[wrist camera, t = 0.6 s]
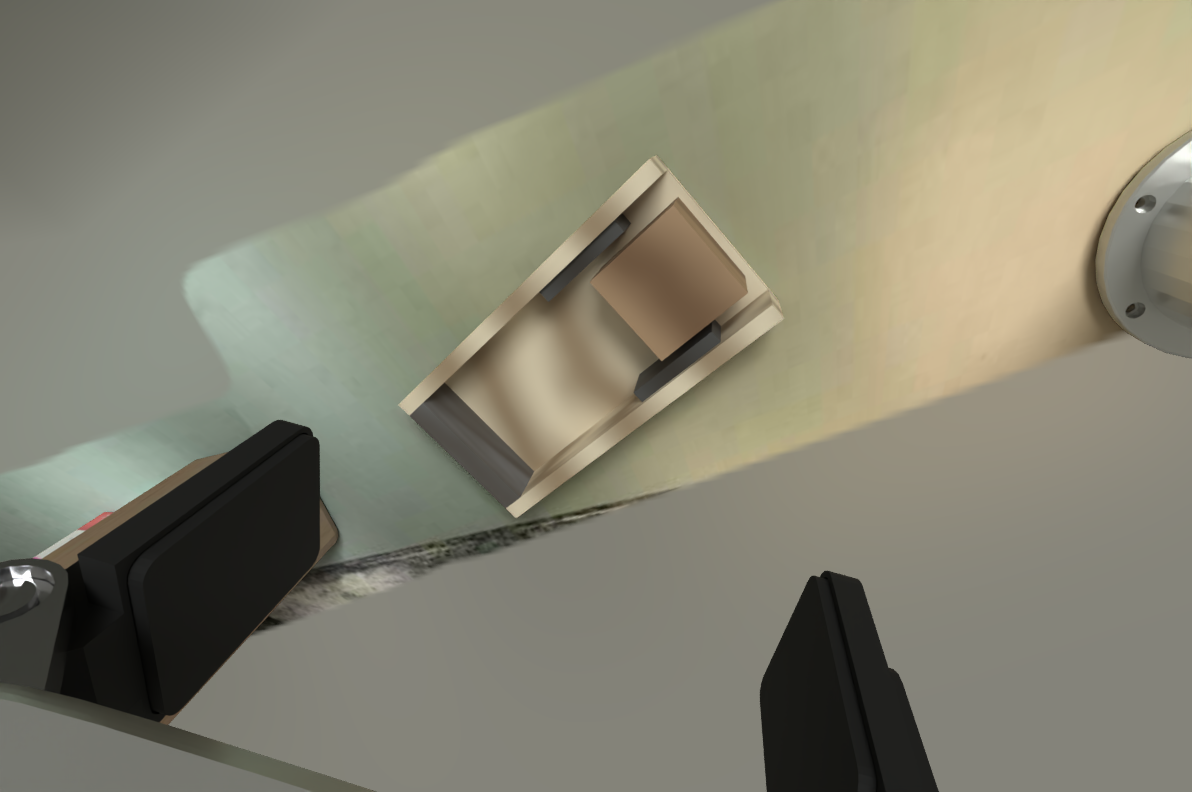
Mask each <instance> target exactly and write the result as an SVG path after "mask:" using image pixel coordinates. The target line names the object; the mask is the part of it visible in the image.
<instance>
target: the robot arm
mask: <svg viewBox="0 0 1192 792" xmlns="http://www.w3.org/2000/svg"><path fill="white" fill-rule="evenodd" d="M1137 200H1140V201H1139V204H1138V205H1137V206H1135V204H1136V202H1137ZM1095 264H1096V283H1097V287H1098V290H1099V293H1100V297H1101V300H1102V303H1103V304H1104V306H1105V308H1106V309H1107V311H1108V312H1109V314H1110V316H1111V317H1112V319H1113V320H1114V321H1115V322H1116V323H1117V324H1118V325H1119V326H1120V327H1121V328H1122V329H1124V330H1125V331H1126V332H1127V333H1128V334H1130V335H1131V336H1133V337H1135V338H1136V339H1138V340H1140V341H1142V342H1143V343H1145V344H1147V345H1149V346H1152V347H1154V348H1156V349H1158V350H1161V351H1163V352H1165V353H1169V354H1173V355H1178V356H1182V357H1187V358H1192V130H1191V131H1189V132H1188V133H1186V134H1185V135H1183V136H1182V137H1180V138H1179V139H1177V140H1176V141H1174V142H1173V143H1171V144H1170V145H1168V146H1167V147H1166V148H1164V149H1163V150H1162V151H1161V152H1160V153H1159V154H1158V155H1157V156H1155V157H1154V158H1153V159H1152V160H1151V161H1150V162H1149V163H1148V164H1147V165H1145V166H1144V167H1143V168H1142V169H1141V170H1140V172H1139V173H1138V174H1137V175H1136V176H1135V178H1134V179H1133V180H1132V181H1131V182H1130V183H1129V185H1128V186H1127V187H1126V188H1125V189H1124V191H1123V192H1122V194H1121V195H1120V197H1119V199H1118V200H1117V202H1116V204H1115V205H1114V207H1113V209H1112V210H1111V212H1110V214H1109V215H1108V218H1107V220H1106V223H1105V226H1104V228H1103V231H1102V233H1101V236H1100V238H1099V244H1098V249H1097V255H1096V261H1095ZM1128 306H1129V308H1127V307H1128ZM319 551H320V445H319V441H318V439H317V438H316V437H313V433H312V431H311V429H310V428H308V427H305V426H302V425H298V424H294V423H291V422H287V421H283V420H276V421H274V422H272V423H271V424H269V425H268V426H266V427H265V428H263V429H262V430H260V431H259V432H258V433H256V434H255V435H253V436H252V437H250V438H249V439H247V440H246V441H244V442H243V443H241V444H240V445H238V446H237V447H235V448H234V449H232V450H231V451H229V452H228V453H226V454H225V455H223V456H222V457H220V458H219V459H218V460H216V461H215V462H213V463H212V464H210V465H209V466H207V467H206V468H204V469H203V470H201V471H200V472H198V473H197V474H195V475H194V476H192V477H191V478H189V479H188V480H186V481H185V482H183V483H182V484H180V485H179V486H177V487H176V488H175V489H173V490H172V491H170V492H169V493H167V494H166V495H164V496H163V497H161V498H160V499H158V500H157V501H155V502H154V503H152V504H151V505H149V506H148V507H146V508H145V509H143V510H142V511H140V512H139V513H137V514H136V515H134V516H133V517H132V518H130V519H129V520H127V521H126V522H124V523H123V524H121V525H120V526H118V527H117V528H115V529H114V530H112V531H111V532H109V533H108V534H106V535H105V536H103V537H102V538H100V539H99V540H97V541H96V542H94V543H93V544H92V545H90V546H89V547H87V548H86V549H84V550H83V551H81V552H80V553H78V554H77V556H78V561H77V562H75V563H74V564H72V565H71V566H69V567H68V568H66V569H64V568H63V567H62V566H61V565H59V564H57V563H55V562H52V561H50V560H44V559H35V558H27V559H15V560H8V561H4V562H0V792H376V791H373V790H370V789H367V788H364V787H361V786H357V785H354V784H351V783H348V782H345V781H342V780H339V779H336V778H333V777H330V776H327V775H323V774H320V773H317V772H314V771H311V770H308V769H305V768H301V767H298V766H295V765H292V764H289V763H286V762H282V761H279V760H276V759H273V758H270V757H267V756H264V755H261V754H257V753H254V752H251V751H248V750H245V749H241V748H238V747H235V746H232V745H229V744H225V743H223V742H220V741H216V740H213V739H210V738H207V737H204V736H200V735H197V734H194V733H191V732H188V731H185V730H182V729H179V728H175V727H172V726H169V725H166V724H162V723H159V722H160V721H161V720H162V719H163V718H164V717H165V716H166V715H168V716H172V715H174V714H176V713H178V712H179V711H180V710H181V709H182V708H183V707H184V706H185V705H186V704H187V703H188V702H189V701H190V700H191V698H192V697H193V696H194V695H195V694H196V693H197V692H198V691H199V690H200V689H201V688H202V686H203V685H204V684H205V683H206V682H207V681H208V680H209V679H210V678H211V677H212V675H213V674H214V673H215V672H216V671H217V670H218V669H219V668H220V667H221V666H222V664H223V663H224V662H225V661H226V660H227V659H228V658H229V657H230V656H231V655H232V654H233V652H234V651H235V650H236V649H237V648H238V647H239V646H240V645H241V644H242V643H243V641H244V640H245V639H246V638H247V637H248V636H249V635H250V634H251V633H252V632H253V630H254V629H255V628H256V627H257V626H258V625H259V624H260V623H261V622H262V621H263V620H264V618H265V617H266V616H267V615H268V614H269V613H270V612H271V611H272V610H273V609H274V607H275V606H276V605H277V604H278V603H279V602H280V601H281V600H282V599H283V598H284V597H285V595H286V594H287V593H288V592H289V591H290V590H291V589H292V588H293V587H294V586H295V584H296V583H297V582H298V581H299V580H300V579H301V578H302V577H303V576H304V575H305V573H306V572H307V571H308V570H309V569H310V568H311V567H312V566H313V564H314V563H315V561H316V559H317V557H318V554H319ZM760 707H761V720H762V734H763V746H764V760H765V773H766V786H767V792H939V791H938V788H937V785H936V782H935V779H934V776H933V773H932V770H931V767H930V764H929V761H928V758H927V755H926V752H925V749H924V746H923V743H922V740H921V737H920V734H919V731H918V728H917V725H916V722H915V720H914V716H913V713H912V710H911V707H910V704H909V701H908V698H907V695H906V692H905V689H904V686H903V683H902V681H901V679H900V677H899V674H898V673H897V672H896V671H894V669H891V668H888V665H887V662H886V659H885V656H884V652H883V649H882V646H881V643H880V640H879V637H878V634H877V630H876V627H875V624H874V621H873V618H872V614H871V611H870V608H869V605H868V602H867V599H866V596H865V592H864V589H863V586H862V584H861V582H860V581H859V580H858V579H855V578H852V577H848V576H845V575H841V574H837V573H833V572H830V571H824V572H823V573H822V574H821V576H820V577H817V576H811V577H810V578H809V580H808V582H807V584H806V586H805V589H804V591H803V593H802V595H801V597H800V599H799V602H798V603H797V606H796V608H795V610H794V612H793V614H792V617H791V618H790V621H789V623H788V625H787V627H786V629H785V631H784V633H783V636H782V638H781V640H780V642H779V644H778V646H777V649H776V651H775V653H774V655H773V657H772V659H771V661H770V664H769V666H768V668H767V670H766V672H765V674H764V677H763V680H762V683H761V689H760Z"/></svg>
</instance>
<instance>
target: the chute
mask: <svg viewBox="0 0 1192 792" xmlns="http://www.w3.org/2000/svg"><path fill="white" fill-rule="evenodd" d="M677 197H679V198H680V199H681V200H682V202H683V203H684V204H685V205H686V206H687V208H688V209H689V210H690V211H691V212H692V214H693V215H694V216H695V217H696V218H697V219H698V221H699V222H700V223H701V224H702V225H703V227H704V228H705V229H706V230H707V231H708V232H709V234H710V235H711V236H712V237H713V238H714V240H715V241H716V242H717V243H718V244H719V245H720V247H721V248H722V249H723V250H724V251H725V253H726V254H727V255H728V256H729V257H730V258H731V260H732V261H733V262H734V263H735V264H736V266H737V267H738V268H739V269H740V270H741V271H742V273H743V274H744V275H745V278H746V284H747V290H748V294H746V295H745V296H744V297H743V298H741V299H740V300H739V301H737V302H736V303H735V304H734V305H732V306H731V307H730V308H729V309H727V310H726V311H725V312H724V313H722V314H721V315H720V316H718V317H717V318H716V319H715V320H713V321H712V322H711V323H710V324H708V325H707V326H706V327H705V328H703V329H702V330H701V331H699V332H698V333H697V334H696V335H694V336H693V337H692V338H691V339H689V340H688V341H687V342H686V343H684V344H683V345H682V346H680V347H679V348H678V349H677V350H675V351H674V352H673V353H672V354H670V355H669V356H668V357H666V358H665V359H664V360H663V361H661V360H660V359H659V358H658V357H657V356H656V355H655V353H654V352H653V351H652V350H651V349H650V348H649V347H648V346H647V345H646V344H645V342H644V341H643V340H642V339H641V338H640V337H639V336H638V335H637V334H636V333H635V331H634V330H633V329H632V328H631V327H630V326H629V325H628V324H627V323H626V322H625V320H624V319H623V318H622V317H621V316H620V315H619V314H618V313H617V312H616V311H615V309H614V308H613V307H612V306H611V305H610V304H609V303H608V302H607V301H606V300H605V298H604V297H603V296H602V295H601V294H600V293H599V292H598V291H597V290H596V289H595V287H594V286H593V285H592V284H591V283H590V281H591V280H592V279H593V277H594V276H595V275H596V274H597V273H598V271H599V270H600V269H601V268H602V266H604V265H605V264H606V263H607V262H608V261H609V260H610V259H611V258H612V257H613V256H614V255H616V254H617V253H618V252H619V251H620V250H621V249H622V248H623V247H624V246H625V245H626V244H627V243H629V242H630V241H631V240H632V239H633V238H634V237H635V236H636V235H637V234H638V233H639V232H640V231H642V230H643V229H644V228H645V227H646V226H647V225H648V224H649V223H650V222H651V221H652V220H653V219H655V218H656V217H657V216H658V215H659V214H660V213H661V212H662V211H663V210H664V209H665V208H666V207H668V206H669V205H670V204H671V203H672V202H673V201H674V200H675V199H676V198H677ZM783 319H784V316H783V313H782V310H781V307H780V304H779V301H778V298H777V297H776V296H775V295H774V294H773V293H772V291H771V290H770V289H769V288H768V287H767V285H766V284H765V283H764V282H763V281H762V279H761V278H760V277H759V276H758V275H757V273H756V272H755V271H754V270H753V269H752V267H751V266H750V265H749V264H748V263H747V262H746V260H745V259H744V258H743V257H742V256H741V254H740V253H739V252H738V251H737V250H736V248H735V247H734V246H733V245H732V244H731V242H730V241H729V240H728V239H727V238H726V237H725V235H724V234H723V233H722V232H721V231H720V229H719V228H718V227H717V226H716V225H715V223H714V222H713V221H712V220H711V219H710V217H709V216H708V215H707V214H706V213H705V212H704V210H703V209H702V208H701V207H700V206H699V204H698V203H697V202H696V201H695V200H694V198H693V197H692V196H691V195H690V194H689V192H688V191H687V190H686V189H685V188H684V187H683V185H682V184H681V183H680V182H679V181H678V179H677V178H676V177H675V176H674V175H673V173H672V172H671V171H670V170H669V169H668V167H667V166H666V165H665V164H664V163H663V161H662V160H661V159H660V158H659V157H658V156H657V155H656V156H654V157H652V158H650V159H649V160H648V161H647V162H646V163H645V164H644V165H643V166H642V167H641V168H640V169H638V170H637V171H636V172H635V173H634V174H633V175H632V176H631V177H630V178H629V179H628V180H627V181H626V182H625V183H624V184H623V185H622V186H621V187H620V188H619V189H618V190H617V191H616V192H615V193H614V194H613V195H612V196H611V197H610V198H609V199H608V200H607V201H606V202H605V203H604V204H603V205H602V206H601V207H600V208H599V209H598V210H597V211H596V212H595V213H594V214H593V215H592V216H591V217H589V218H588V219H587V220H586V221H585V222H584V223H583V224H582V225H581V226H580V227H579V228H578V229H577V230H576V231H575V232H574V233H573V234H572V235H571V236H570V237H569V238H568V239H567V240H566V241H565V242H564V243H563V244H562V245H561V246H560V247H559V248H558V249H557V250H556V251H555V252H554V253H553V254H552V255H551V256H550V257H549V258H548V259H547V260H546V261H545V262H544V263H543V264H542V265H540V266H539V267H538V268H537V269H536V270H535V271H534V272H533V273H532V274H531V275H530V276H529V277H528V278H527V279H526V280H525V281H524V282H523V283H522V284H521V285H520V286H519V287H518V288H517V289H516V290H515V291H514V292H513V293H512V294H511V295H510V296H509V297H508V298H507V299H506V300H505V301H504V302H503V303H502V304H501V305H500V306H499V307H498V308H497V309H496V310H495V311H494V312H493V313H491V314H490V315H489V316H488V317H487V318H486V319H485V320H484V321H483V322H482V323H481V324H480V325H479V326H478V327H477V328H476V329H475V330H474V331H473V332H472V333H471V334H470V335H469V336H468V337H467V338H466V339H465V340H464V341H463V342H462V343H461V344H460V345H459V346H458V347H457V348H456V349H455V350H454V351H453V352H452V353H451V354H450V355H449V356H448V357H447V358H446V359H445V360H444V361H443V362H441V363H440V364H439V365H438V366H437V367H436V368H435V369H434V370H433V371H432V372H431V373H430V374H429V375H428V376H427V377H426V378H425V379H424V380H423V381H422V382H421V383H420V384H419V385H418V386H417V387H416V388H415V389H414V390H413V391H412V392H411V393H410V394H409V395H408V396H407V397H406V398H405V399H404V400H403V401H402V402H401V403H400V404H399V406H400V407H401V408H402V409H403V410H404V411H405V412H406V413H407V414H408V415H409V416H410V417H411V418H412V419H414V420H415V421H416V422H417V423H418V424H419V425H420V426H421V427H422V428H423V429H424V430H425V431H426V432H427V433H428V434H429V435H430V436H431V437H432V438H433V439H434V440H435V441H436V442H437V443H438V444H439V445H441V446H442V447H443V448H444V449H445V450H446V451H447V452H448V453H449V454H450V455H451V456H452V457H453V458H454V459H455V460H456V461H457V462H458V463H459V464H460V465H461V466H462V467H463V468H464V469H465V470H466V471H468V472H469V473H470V474H471V475H472V476H473V477H474V478H475V479H476V480H477V481H478V482H479V483H480V484H481V485H482V486H483V487H484V488H485V489H486V490H487V491H488V492H489V493H490V494H491V495H492V496H493V497H495V498H496V499H497V500H498V501H499V502H500V503H501V504H502V505H503V506H504V507H505V508H506V509H507V510H508V511H509V512H510V513H511V514H512V515H513V516H514V517H515V518H517V517H519V516H520V515H521V514H523V513H524V512H525V511H527V510H528V509H529V508H531V507H532V506H533V505H535V504H536V503H537V502H539V501H540V500H541V499H543V498H544V497H545V496H547V495H548V494H549V493H551V492H552V491H553V490H555V489H556V488H558V487H559V486H560V485H562V484H563V483H564V482H566V481H567V480H568V479H570V478H571V477H572V476H574V475H575V474H576V473H578V472H579V471H580V470H582V469H583V468H584V467H586V466H587V465H588V464H590V463H591V462H592V461H594V460H595V459H596V458H598V457H599V456H600V455H602V454H603V453H604V452H606V451H607V450H608V449H610V448H611V447H612V446H614V445H615V444H617V443H618V442H619V441H621V440H622V439H623V438H625V437H626V436H627V435H629V434H630V433H631V432H633V431H634V430H635V429H637V428H638V427H639V426H641V425H642V424H643V423H645V422H646V421H647V420H649V419H650V418H651V417H653V416H654V415H655V414H657V413H658V412H659V411H661V410H662V409H663V408H665V407H666V406H667V405H669V404H670V403H671V402H673V401H674V400H676V399H677V398H678V397H680V396H681V395H682V394H684V393H685V392H686V391H688V390H689V389H690V388H692V387H693V386H694V385H696V384H697V383H698V382H700V381H701V380H702V379H704V378H705V377H706V376H708V375H709V374H710V373H712V372H713V371H714V370H716V369H717V368H718V367H720V366H721V365H722V364H724V363H725V362H726V361H728V360H729V359H731V358H732V357H733V356H735V355H736V354H737V353H739V352H740V351H741V350H743V349H744V348H745V347H747V346H748V345H749V344H751V343H752V342H753V341H755V340H756V339H757V338H759V337H760V336H761V335H763V334H764V333H765V332H767V331H768V330H769V329H771V328H772V327H773V326H775V325H776V324H777V323H779V322H780V321H781V320H783Z"/></svg>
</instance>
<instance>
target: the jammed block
mask: <svg viewBox="0 0 1192 792" xmlns="http://www.w3.org/2000/svg"><path fill="white" fill-rule="evenodd" d="M590 283H591V284H592V285H593V286H594V287H595V289H596V290H597V291H598V292H599V293H600V294H601V295H602V296H603V297H604V298H605V300H606V301H607V302H608V303H609V304H610V305H611V306H612V307H613V308H614V309H615V311H616V312H617V313H618V314H619V315H620V316H621V317H622V318H623V319H624V320H625V322H626V323H627V324H628V325H629V326H630V327H631V328H632V329H633V330H634V331H635V333H636V334H637V335H638V336H639V337H640V338H641V339H642V340H643V341H644V342H645V344H646V345H647V346H648V347H649V348H650V349H651V350H652V351H653V352H654V353H655V355H656V356H657V357H658V358H659V359H660V360H661V361H663V360H664V359H665V358H666V357H668V356H669V355H670V354H672V353H673V352H674V351H675V350H677V349H678V348H679V347H680V346H682V345H683V344H684V343H686V342H687V341H688V340H689V339H691V338H692V337H693V336H694V335H696V334H697V333H698V332H699V331H701V330H702V329H703V328H705V327H706V326H707V325H708V324H710V323H711V322H712V321H713V320H715V319H716V318H717V317H718V316H720V315H721V314H722V313H724V312H725V311H726V310H727V309H729V308H730V307H731V306H732V305H734V304H735V303H736V302H737V301H739V300H740V299H741V298H743V297H744V296H745V295H746V294H748V290H747V284H746V278H745V275H744V274H743V273H742V271H741V270H740V269H739V268H738V267H737V266H736V264H735V263H734V262H733V261H732V260H731V258H730V257H729V256H728V255H727V254H726V253H725V251H724V250H723V249H722V248H721V247H720V245H719V244H718V243H717V242H716V241H715V240H714V238H713V237H712V236H711V235H710V234H709V232H708V231H707V230H706V229H705V228H704V227H703V225H702V224H701V223H700V222H699V221H698V219H697V218H696V217H695V216H694V215H693V214H692V212H691V211H690V210H689V209H688V208H687V206H686V205H685V204H684V203H683V202H682V200H681V199H680V198H679V197H677V198H676V199H675V200H674V201H673V202H672V203H671V204H670V205H669V206H668V207H666V208H665V209H664V210H663V211H662V212H661V213H660V214H659V215H658V216H657V217H656V218H655V219H653V220H652V221H651V222H650V223H649V224H648V225H647V226H646V227H645V228H644V229H643V230H642V231H640V232H639V233H638V234H637V235H636V236H635V237H634V238H633V239H632V240H631V241H630V242H629V243H627V244H626V245H625V246H624V247H623V248H622V249H621V250H620V251H619V252H618V253H617V254H616V255H614V256H613V257H612V258H611V259H610V260H609V261H608V262H607V263H606V264H605V265H604V266H602V268H601V269H600V270H599V271H598V273H597V274H596V275H595V276H594V277H593V279H592V280H591V281H590Z"/></svg>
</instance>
